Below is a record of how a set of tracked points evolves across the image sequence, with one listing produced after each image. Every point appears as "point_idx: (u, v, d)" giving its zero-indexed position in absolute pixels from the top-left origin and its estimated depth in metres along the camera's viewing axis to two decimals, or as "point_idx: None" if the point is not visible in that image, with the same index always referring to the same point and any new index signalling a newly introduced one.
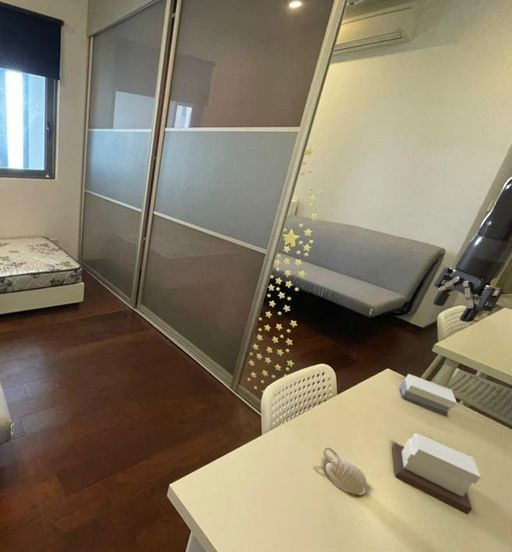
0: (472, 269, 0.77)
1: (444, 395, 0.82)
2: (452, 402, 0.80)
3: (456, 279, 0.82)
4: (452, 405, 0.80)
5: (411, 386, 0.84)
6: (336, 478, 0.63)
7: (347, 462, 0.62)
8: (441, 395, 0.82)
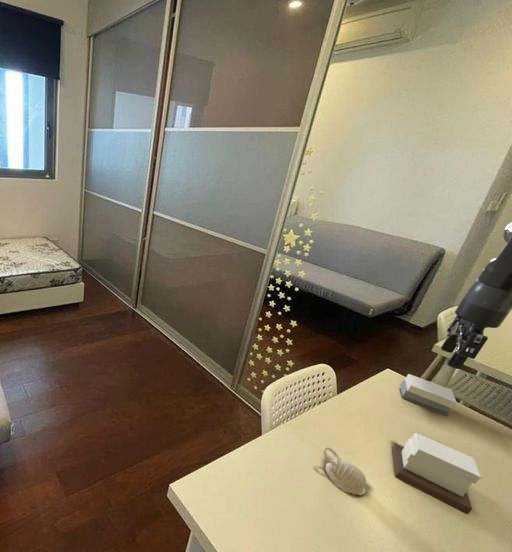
0: (463, 313, 0.75)
1: (444, 395, 0.82)
2: (452, 402, 0.80)
3: (457, 323, 0.79)
4: (452, 405, 0.80)
5: (411, 386, 0.84)
6: (336, 478, 0.63)
7: (347, 462, 0.62)
8: (441, 395, 0.82)
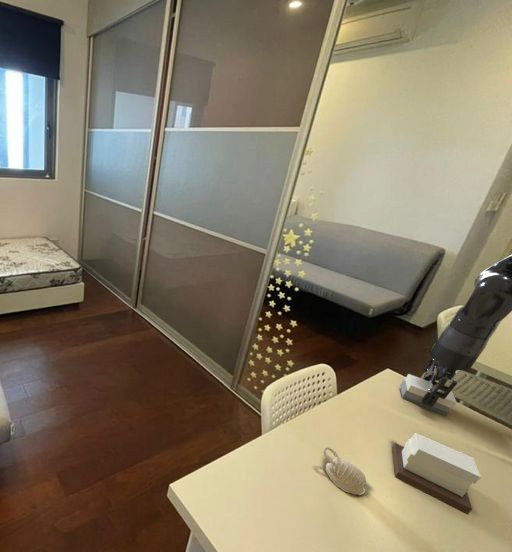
0: (437, 355, 0.80)
1: None
2: (452, 402, 0.80)
3: (432, 363, 0.84)
4: (452, 405, 0.80)
5: (411, 386, 0.84)
6: (336, 478, 0.63)
7: (347, 462, 0.62)
8: None
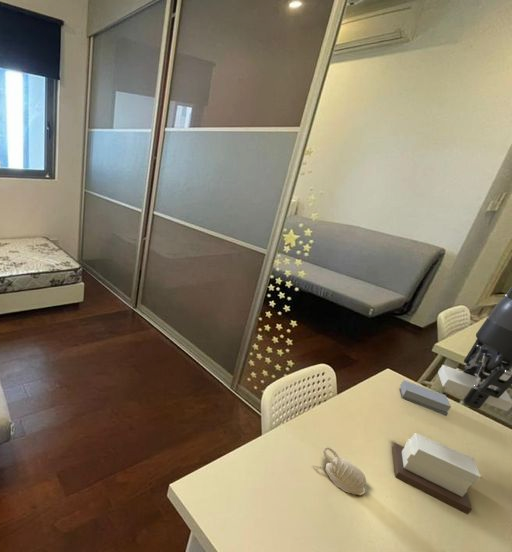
0: (487, 338, 0.58)
1: None
2: (507, 402, 0.58)
3: (478, 350, 0.62)
4: (507, 407, 0.58)
5: (448, 381, 0.63)
6: (336, 478, 0.63)
7: (347, 462, 0.62)
8: None
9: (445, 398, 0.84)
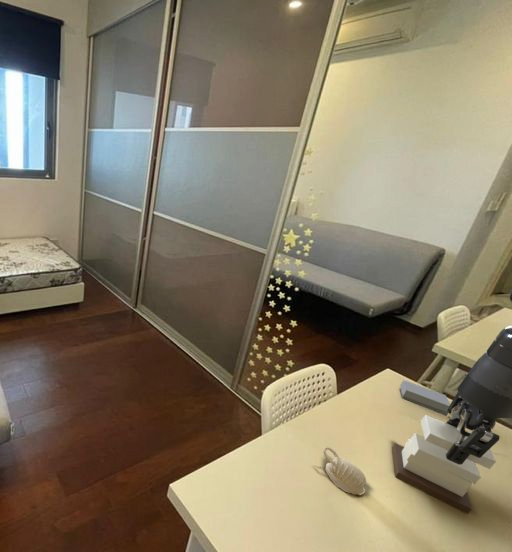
0: (468, 395, 0.57)
1: None
2: (489, 460, 0.57)
3: (460, 404, 0.61)
4: (489, 464, 0.57)
5: (430, 435, 0.61)
6: (336, 478, 0.63)
7: (347, 462, 0.62)
8: None
9: (445, 398, 0.84)
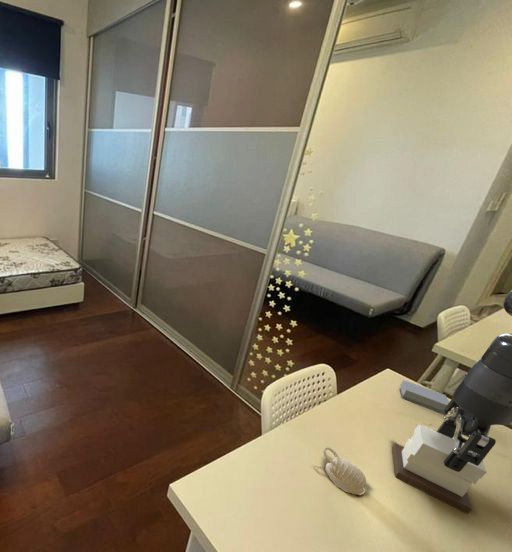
0: (463, 401, 0.58)
1: None
2: (480, 470, 0.58)
3: (455, 410, 0.62)
4: (480, 474, 0.59)
5: (423, 445, 0.63)
6: (336, 478, 0.63)
7: (347, 462, 0.62)
8: None
9: (445, 398, 0.84)
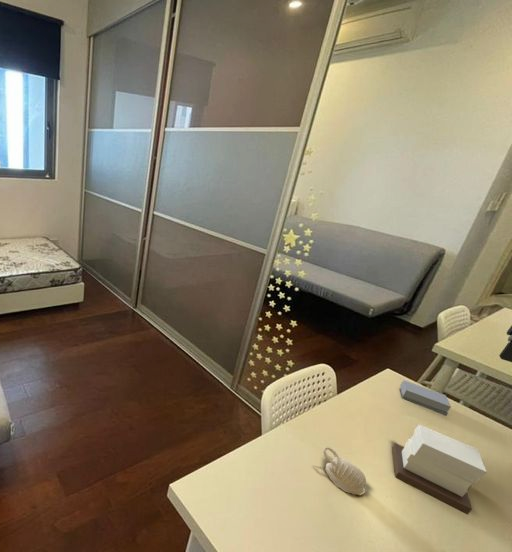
0: None
1: (468, 459, 0.60)
2: (480, 470, 0.58)
3: None
4: (480, 474, 0.59)
5: (423, 445, 0.63)
6: (336, 478, 0.63)
7: (347, 462, 0.62)
8: (465, 459, 0.60)
9: (445, 398, 0.84)
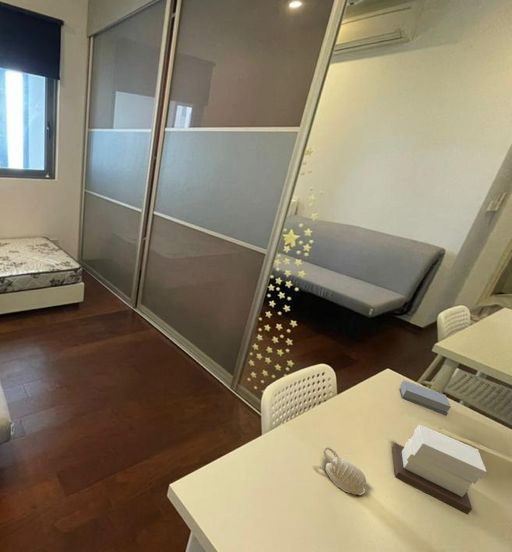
0: None
1: (468, 459, 0.60)
2: (480, 470, 0.58)
3: None
4: (480, 474, 0.59)
5: (423, 445, 0.63)
6: (336, 478, 0.63)
7: (347, 462, 0.62)
8: (465, 459, 0.60)
9: (445, 398, 0.84)
